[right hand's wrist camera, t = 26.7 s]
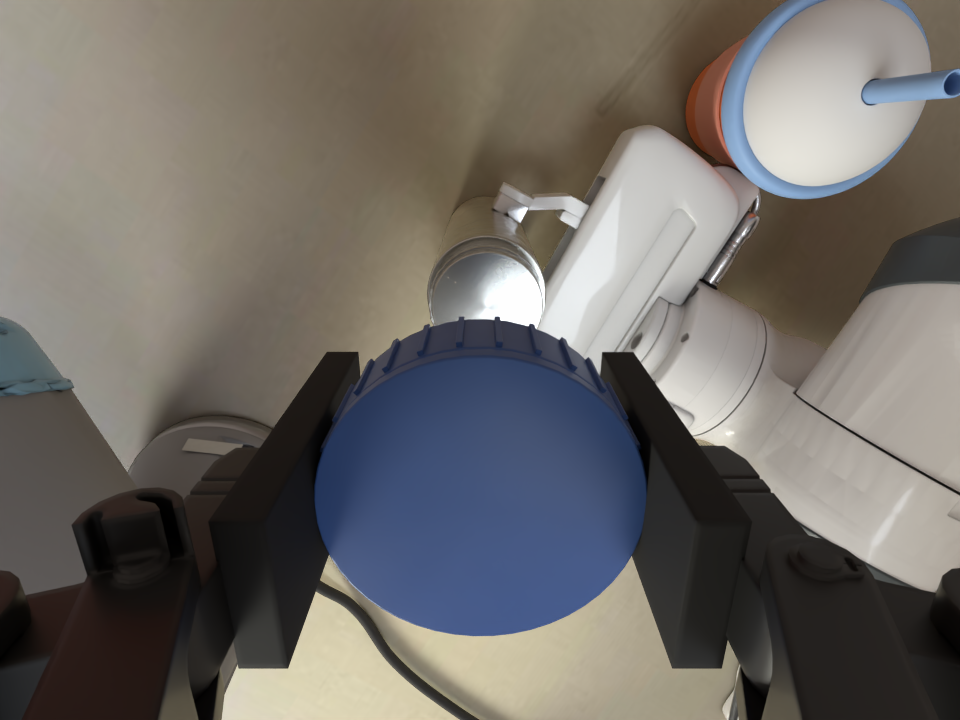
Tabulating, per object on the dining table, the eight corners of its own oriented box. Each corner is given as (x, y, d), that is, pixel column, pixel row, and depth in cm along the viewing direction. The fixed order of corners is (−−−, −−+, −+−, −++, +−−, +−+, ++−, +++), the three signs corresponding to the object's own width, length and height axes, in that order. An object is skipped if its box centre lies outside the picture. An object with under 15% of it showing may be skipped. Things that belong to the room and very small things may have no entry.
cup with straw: (774, -11, 34) (1066, -155, 17) (830, 130, 36) (1128, 126, 20) (635, 82, 35) (774, 37, 19) (698, 210, 38) (868, 269, 21)
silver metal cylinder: (453, 190, 38) (432, 232, 22) (528, 203, 38) (563, 255, 22) (442, 264, 40) (415, 356, 23) (513, 276, 40) (537, 375, 24)
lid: (297, 509, 13) (265, 576, 11) (402, 262, 11) (385, 290, 9) (542, 601, 14) (552, 676, 12) (680, 389, 12) (719, 439, 10)
